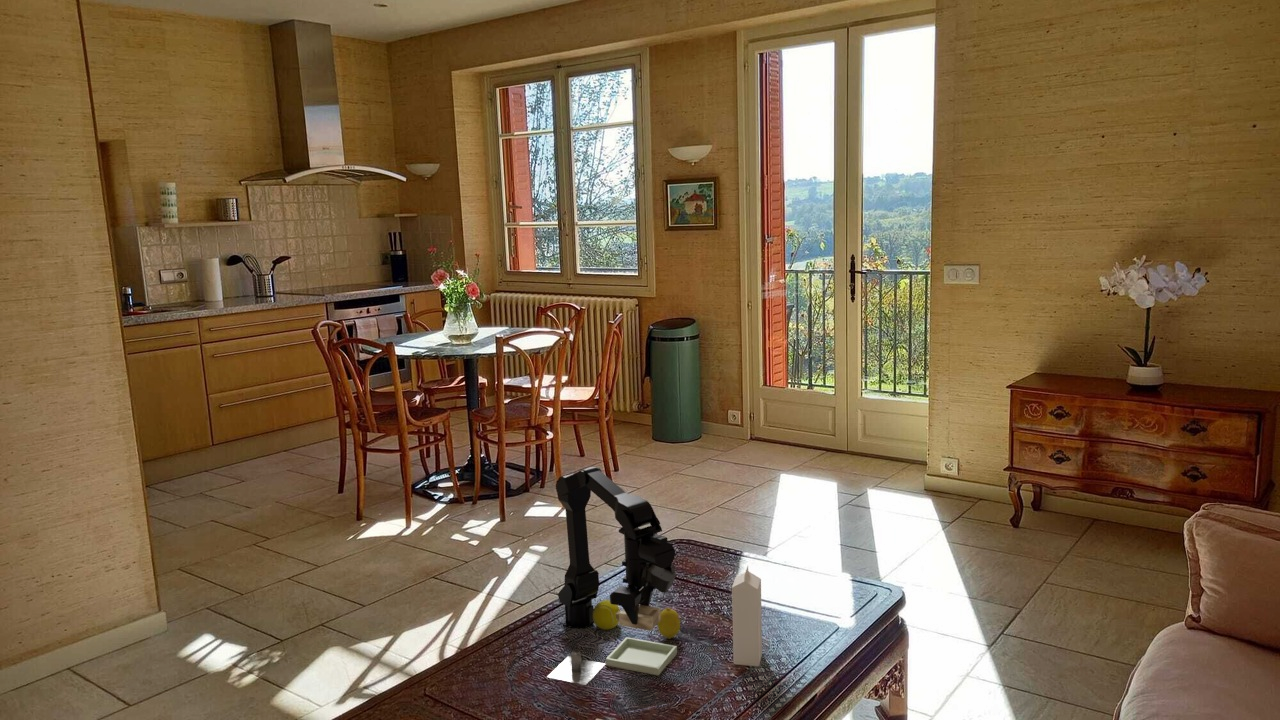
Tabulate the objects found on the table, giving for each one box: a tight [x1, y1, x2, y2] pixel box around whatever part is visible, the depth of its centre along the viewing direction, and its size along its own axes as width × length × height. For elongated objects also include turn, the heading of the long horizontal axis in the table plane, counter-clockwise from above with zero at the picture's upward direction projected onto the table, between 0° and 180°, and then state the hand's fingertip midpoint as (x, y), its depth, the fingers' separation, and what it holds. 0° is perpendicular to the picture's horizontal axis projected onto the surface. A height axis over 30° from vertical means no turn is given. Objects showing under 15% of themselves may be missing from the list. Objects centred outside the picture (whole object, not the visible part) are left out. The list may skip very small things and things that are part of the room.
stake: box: [546, 650, 606, 686], centre depth 208 cm, size 10×10×5 cm
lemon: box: [657, 607, 681, 640], centre depth 221 cm, size 6×6×8 cm
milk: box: [731, 565, 763, 667], centre depth 209 cm, size 6×6×22 cm
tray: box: [605, 636, 678, 676], centre depth 212 cm, size 13×11×2 cm
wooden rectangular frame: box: [616, 604, 661, 632], centre depth 210 cm, size 10×6×3 cm, turn 66°
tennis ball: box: [593, 599, 621, 630], centre depth 228 cm, size 7×7×7 cm
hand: (639, 618), depth 210 cm, fingers closed on wooden rectangular frame, 6 cm apart
